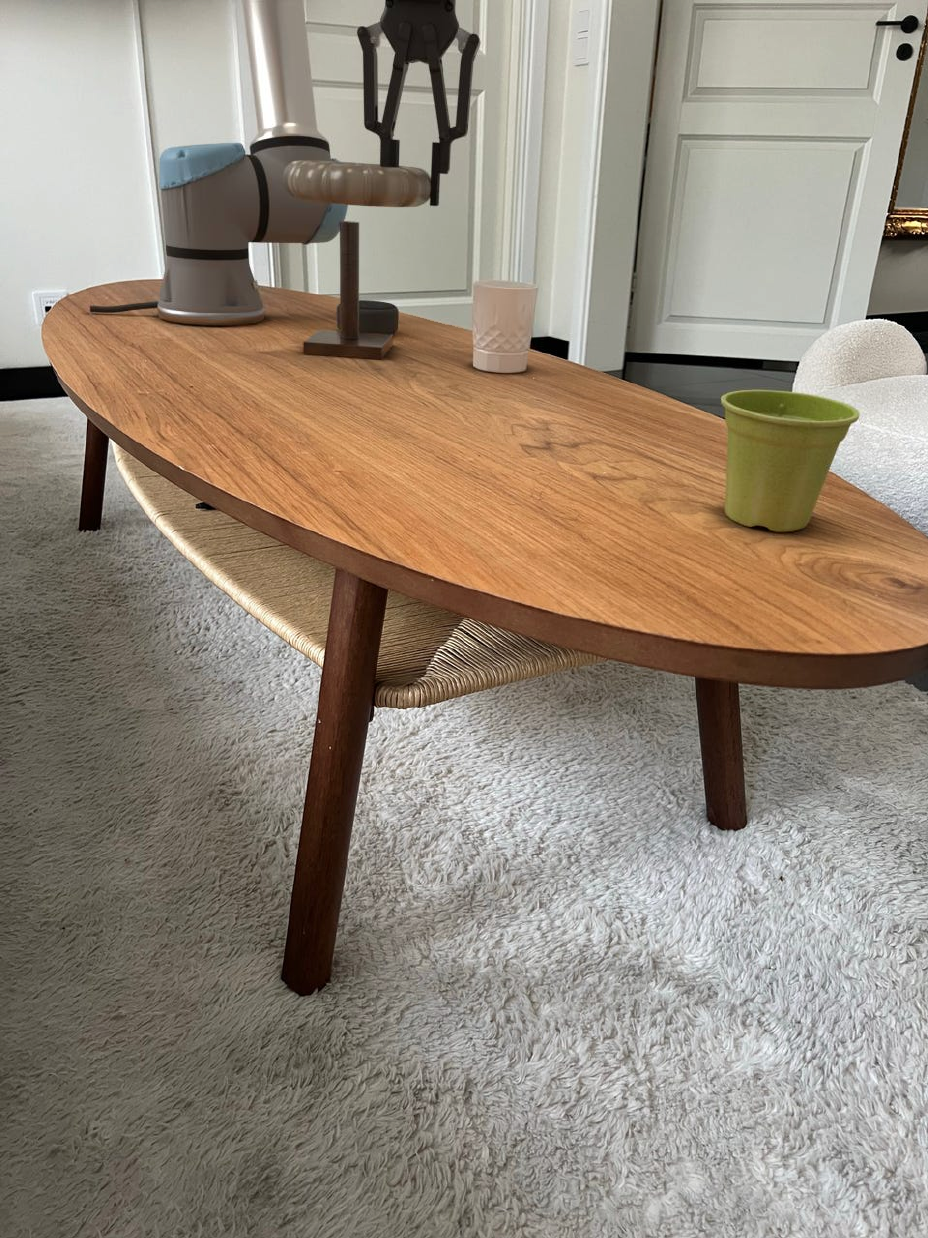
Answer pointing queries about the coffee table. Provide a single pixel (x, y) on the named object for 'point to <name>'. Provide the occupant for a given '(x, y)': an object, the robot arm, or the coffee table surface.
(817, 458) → the plant pot
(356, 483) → the coffee table surface
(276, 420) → the coffee table surface
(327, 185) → the taupe ribbed ring
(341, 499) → the coffee table surface
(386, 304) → the smart speaker
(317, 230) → the robot arm
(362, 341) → the stand
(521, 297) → the white cup
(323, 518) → the coffee table surface
